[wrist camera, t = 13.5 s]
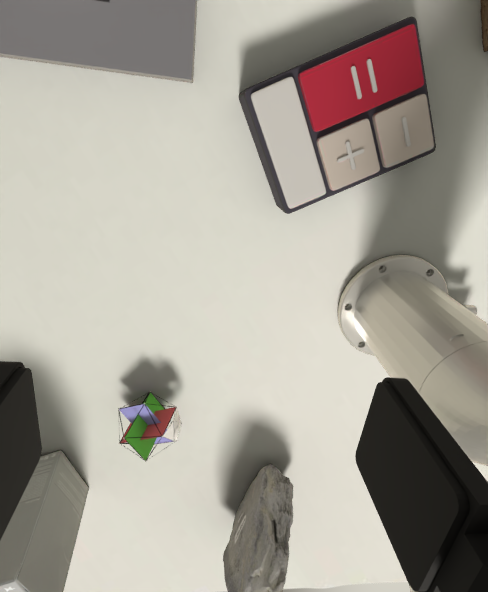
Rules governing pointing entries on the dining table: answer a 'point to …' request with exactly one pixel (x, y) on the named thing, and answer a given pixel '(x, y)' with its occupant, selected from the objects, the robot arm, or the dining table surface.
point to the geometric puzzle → (149, 425)
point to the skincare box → (43, 528)
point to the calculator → (342, 117)
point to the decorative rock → (261, 535)
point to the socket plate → (103, 35)
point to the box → (484, 23)
